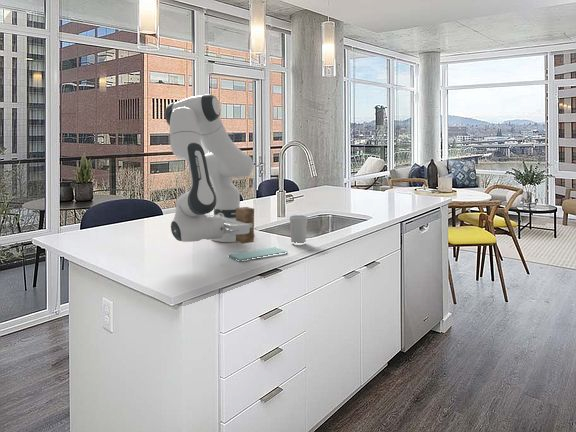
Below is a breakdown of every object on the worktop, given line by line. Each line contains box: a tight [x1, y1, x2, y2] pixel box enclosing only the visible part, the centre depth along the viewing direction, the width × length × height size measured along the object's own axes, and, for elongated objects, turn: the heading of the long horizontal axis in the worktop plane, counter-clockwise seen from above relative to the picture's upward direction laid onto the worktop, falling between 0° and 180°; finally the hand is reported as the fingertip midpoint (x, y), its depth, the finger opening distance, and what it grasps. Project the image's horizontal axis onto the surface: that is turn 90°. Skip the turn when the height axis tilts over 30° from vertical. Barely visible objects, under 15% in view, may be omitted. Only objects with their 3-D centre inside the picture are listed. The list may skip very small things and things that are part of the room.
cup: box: [289, 214, 309, 243], centre depth 221 cm, size 8×8×12 cm
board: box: [227, 246, 288, 262], centre depth 201 cm, size 22×9×1 cm, turn 126°
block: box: [236, 206, 255, 244], centre depth 195 cm, size 5×5×13 cm
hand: (246, 223), depth 196 cm, fingers closed on block, 5 cm apart
